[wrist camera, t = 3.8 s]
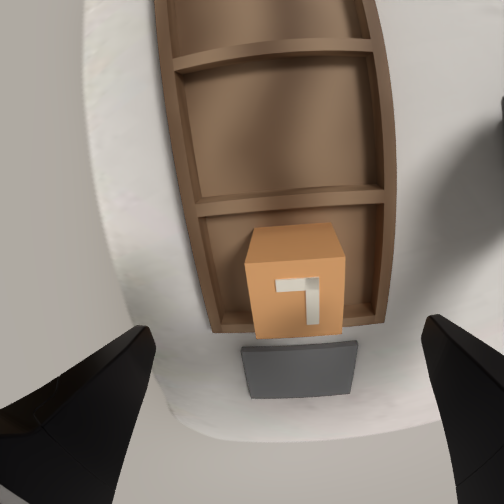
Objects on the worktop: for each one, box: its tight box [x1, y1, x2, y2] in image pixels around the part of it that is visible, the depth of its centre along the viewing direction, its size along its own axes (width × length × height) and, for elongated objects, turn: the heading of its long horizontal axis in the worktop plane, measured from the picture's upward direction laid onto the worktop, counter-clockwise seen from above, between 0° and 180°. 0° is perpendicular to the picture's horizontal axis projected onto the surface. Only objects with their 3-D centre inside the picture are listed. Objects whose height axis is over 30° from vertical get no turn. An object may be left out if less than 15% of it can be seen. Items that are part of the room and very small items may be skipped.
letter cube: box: [244, 222, 345, 339], centre depth 17 cm, size 5×5×5 cm
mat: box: [241, 341, 358, 399], centre depth 25 cm, size 10×7×1 cm
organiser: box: [154, 0, 397, 333], centre depth 15 cm, size 13×28×2 cm, turn 7°
